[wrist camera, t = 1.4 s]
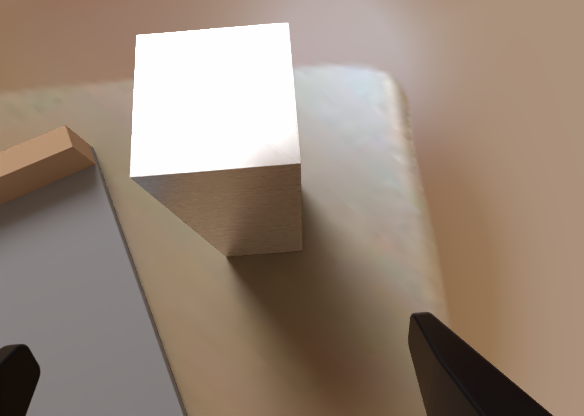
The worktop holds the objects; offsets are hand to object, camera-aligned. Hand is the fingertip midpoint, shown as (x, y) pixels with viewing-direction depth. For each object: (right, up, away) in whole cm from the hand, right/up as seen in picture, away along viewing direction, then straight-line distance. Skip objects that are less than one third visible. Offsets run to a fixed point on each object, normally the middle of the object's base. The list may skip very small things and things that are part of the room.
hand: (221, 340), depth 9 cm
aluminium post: (0, +3, +14) cm, 14 cm away
